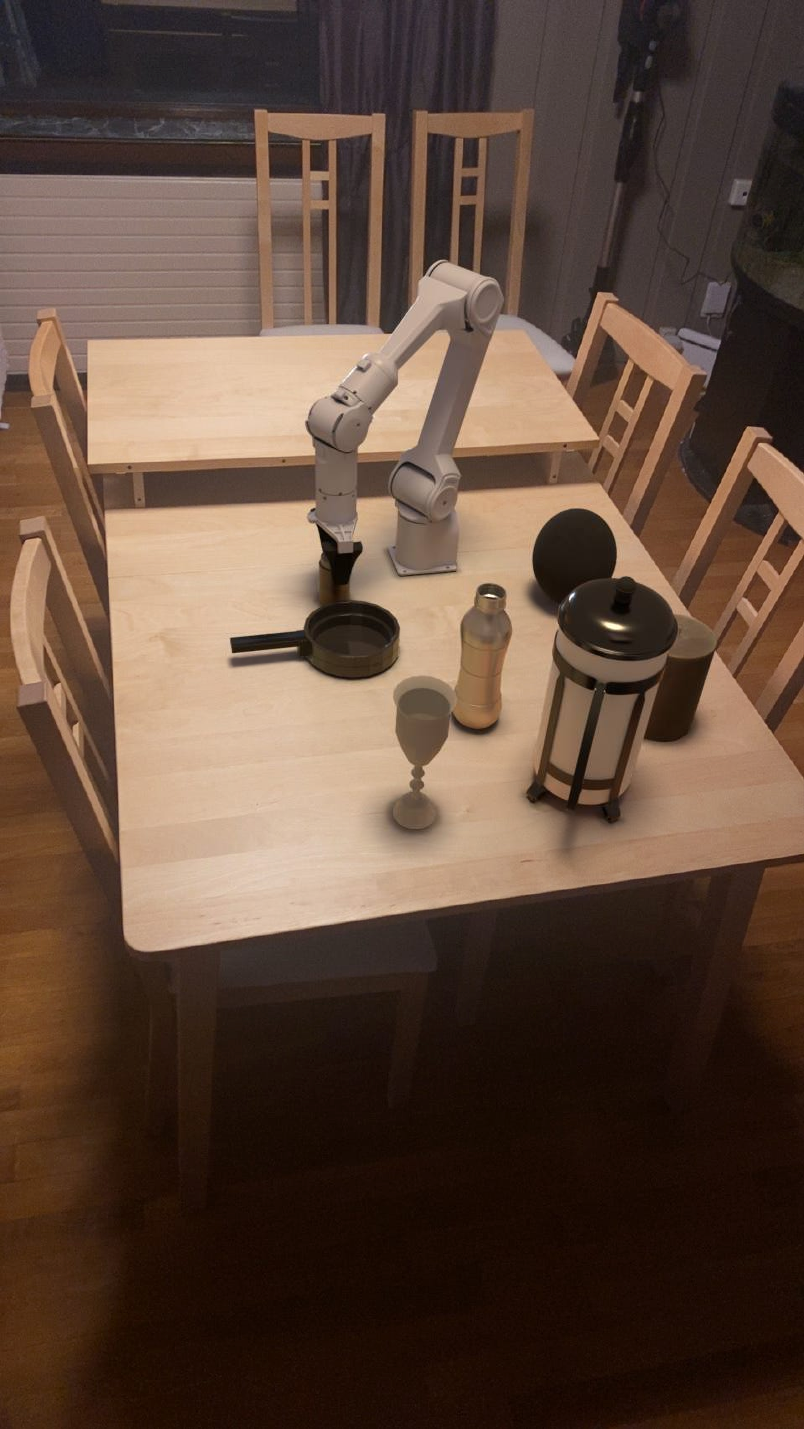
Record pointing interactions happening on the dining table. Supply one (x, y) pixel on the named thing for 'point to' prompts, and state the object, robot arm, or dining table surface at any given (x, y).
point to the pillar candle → (682, 680)
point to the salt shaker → (330, 585)
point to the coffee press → (601, 691)
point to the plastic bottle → (482, 658)
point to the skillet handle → (270, 642)
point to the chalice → (420, 740)
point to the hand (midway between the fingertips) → (335, 569)
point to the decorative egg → (573, 552)
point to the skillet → (352, 638)
